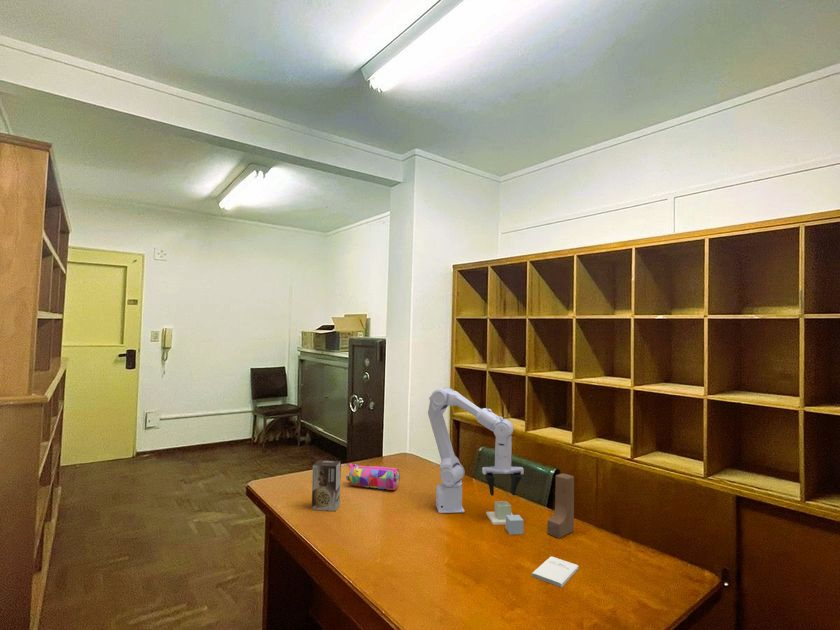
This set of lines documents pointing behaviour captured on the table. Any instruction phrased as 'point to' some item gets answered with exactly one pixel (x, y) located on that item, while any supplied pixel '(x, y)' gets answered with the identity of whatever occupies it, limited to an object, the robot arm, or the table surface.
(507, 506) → the sage cube
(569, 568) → the external hard drive
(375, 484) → the pencil case
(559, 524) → the wooden block
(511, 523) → the slate cube
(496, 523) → the base tile
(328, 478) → the coffee box
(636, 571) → the table surface
